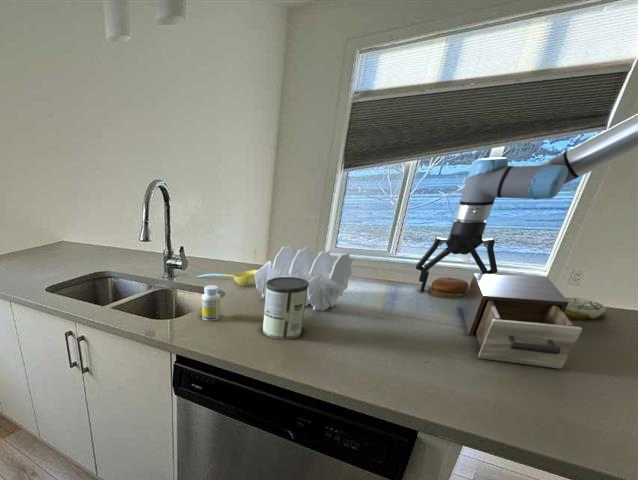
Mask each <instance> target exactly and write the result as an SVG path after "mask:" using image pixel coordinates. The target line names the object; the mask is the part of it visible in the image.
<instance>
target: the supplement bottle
mask: <svg viewBox="0 0 638 480" xmlns="http://www.w3.org/2000/svg"><path fill="white" fill-rule="evenodd" d="M203 289H204V291H203V292H204V293H203V294H202V296H201V319H202V320H204V321H207V322H214V321H215V322H216V321H218V320H219V319H220V317H221V294H220V293H218V292H219V287H218V285H214V284H213V285H212V284H211V285H206V286H204V288H203Z"/></svg>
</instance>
